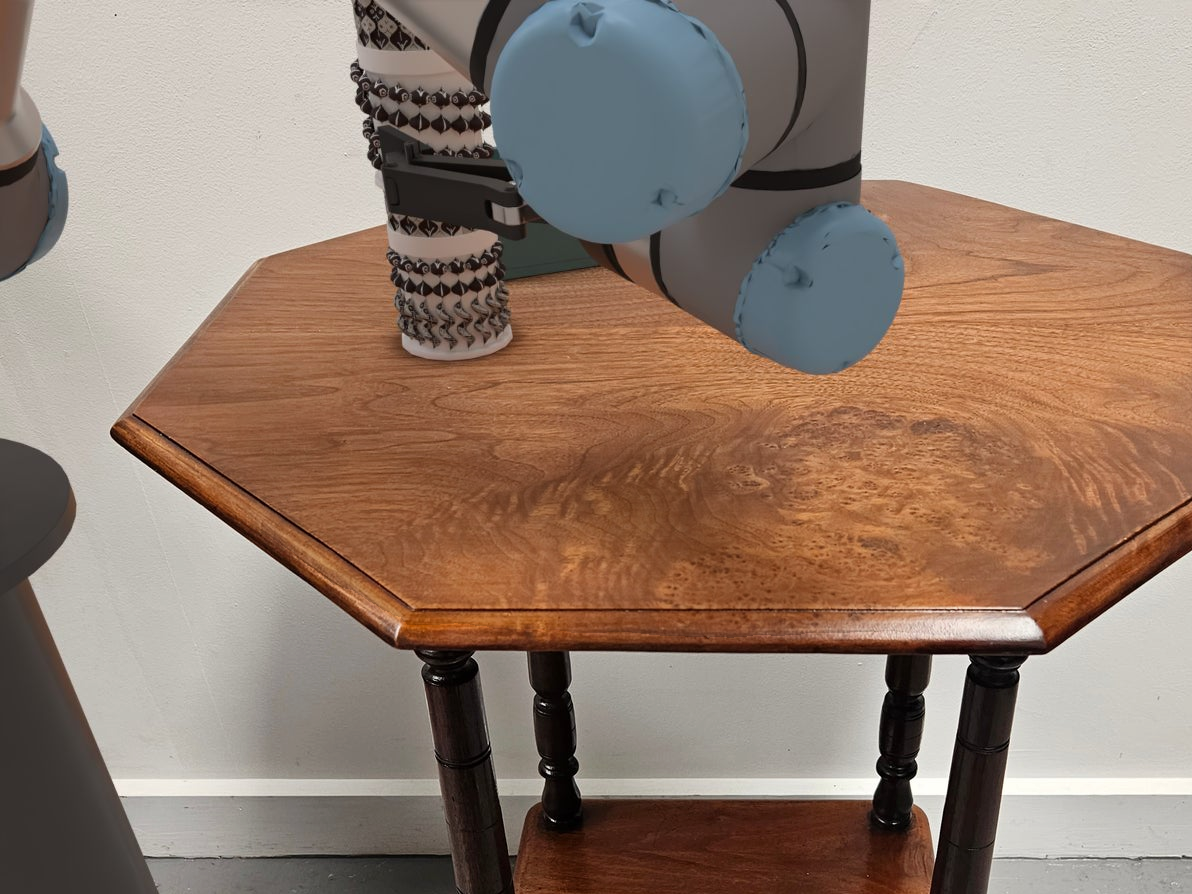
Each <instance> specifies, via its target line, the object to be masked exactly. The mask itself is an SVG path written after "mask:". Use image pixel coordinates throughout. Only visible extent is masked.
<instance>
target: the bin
mask: <svg viewBox="0 0 1192 894" xmlns="http://www.w3.org/2000/svg"><path fill="white" fill-rule="evenodd" d="M492 147H493V148H494V156H493V157H492V158H490V159H493V160H503V159H501V158H500V154H499V152H498V149H497V146H496V145H495V146H492ZM526 232H527V237H526V238H524V239H520V240H518V241H513V240H509V239H506V238H503V237H501V236H499V235H497V236H498V239H499V241H500V242H501V243H502V244H503V246H504V249H503V254H502V256H501V257H500V258H499V259H500V260H501V262H502V263H503V264H504V265H505V266H506V271H505V276H504V278H502V279H501V281H506V280H507V281H508V280H514V279H519V278H526V277H532V276H539V275H545V274H552V273H559V272H565V271H571V270H577V269H584V268H590V267H599V266H601V265H600V264H598V263H597V262H596V261H595V260H593V259H592V258H591V257H590V255H589V254H588V253H587V252H586V251H585V249H584V248H583V246H582V245H581V243H580V242H579V240H578V239H577V237H574V236H571V235H569V234H567V233H564V232H562V231H560V230H559V229H557V228H556V227H554V226H552V225H551V224H541V223H529V222H526Z"/></svg>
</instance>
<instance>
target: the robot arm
mask: <svg viewBox="0 0 1192 894" xmlns="http://www.w3.org/2000/svg"><path fill="white" fill-rule="evenodd" d="M375 1H376V2H377V3H378V4H379V5H380V6H382V7H383V8H384V9H385V10H386V11H387V12H389V13H390V14H391V15H392V16H393V17H394V18H396V19H397V20H398V21H399V22H400V23H402V24H403V25H404V26H405V27H406V28H407V29H409V30H410V31H411V32H412V33H413V34H414V35H416V36H417V37H418V38H419V39H420V40H421V41H423V42H424V43H425V44H426V45H427V46H428V47H430V48H431V49H432V50H433V51H434V52H435V53H437V54H438V55H439V56H440V57H441V58H442V59H444V60H445V61H446V62H447V63H448V64H449V65H451V66H452V67H453V68H454V69H455V70H456V71H458V72H459V73H460V74H461V75H462V76H463V77H465V78H466V79H467V80H468V81H469V82H471V83H472V84H473V85H474V86H475V87H476V88H477V89H478V90H479V91H480V92H482V93H483V94H484V95H485V96H486V97H487V98H488V99H490V101H489V115H490V116H491V122H492V124H491V128H492V137H493V138H492V139H493V141H494V143H495V147H496V146H497V149H498V152H499V154H500V158H501V159H503V160H493V159H479V158H465V157H450V156H436V155H434V151H433V148H432V147H430V146H428V145H426V144H424V143H423V142H421V141H420V140H417V139H415V138H413V137H411V136H409V135H407V134H405V133H404V132H402V131H400V130H398V129H396V128H394V127H392V126H390V125H384V126H378V127H377V129H378V135H379V141H380V147H381V153H382V159H383V164H382V165H381V172H382V178H383V183H384V189H385V195H386V201H387V207H388V212H390V213H393V214H399V215H404V216H410V217H415V218H420V219H426V220H431V221H436V222H442V223H447V224H452V225H458V226H463V227H469V228H474V229H479V230H485V231H490V232H492V233H494V234H497V235H499V236H501V237H503V238H506V239H509V240H513V241H518V240H520V239H524V238H526V237H527V232H526V222H529V223H541V224H551V225H552V226H554V227H556V228H557V229H559V230H560V231H562V232H564V233H567V234H569V235H571V236H574V237H577V239H578V240H579V242H580V243H581V245H582V246H583V248H584V249H585V251H586V252H587V253H588V254H589V255H590V257H591V258H592V259H593V260H595V261H596V262H597V263H598V264H600V265H599V266H601V267H603V268H605V269H607V270H608V271H610V272H612V273H614V274H616V275H617V276H619V277H621V278H623V279H624V280H626V281H628V282H630V283H632V284H634V285H637V286H640V287H641V288H642V289H645V290H647V292H648V291H649V292H650V293H652V294H654V295H656V296H658V297H659V298H662V299H663V300H665V301H667V302H669V303H670V304H673V305H674V306H675V307H677V308H679V309H681V311H684V312H686V313H687V314H688V315H690V316H692V317H694V318H695V319H697V320H698V321H700V322H702V323H704V324H706V325H707V326H709V327H711V328H713V329H714V330H716V331H718V332H719V333H720V334H722V335H724V336H726V337H727V338H729V339H731V340H733V341H734V342H736V343H737V344H739V345H741V346H742V347H743V348H744V349H746V350H747V352H748V353H750V354H752V355H755V356H758V357H759V358H764V359H767V360H769V361H771V362H774V363H776V364H778V365H780V366H783V367H785V368H788V369H791V370H795V371H798V372H800V373H803V374H806V375H812V376H826V375H833V374H834V375H835V374H838V373H841V372H842V371H844V370H847V369H850V368H851V367H853V366H855V365H857V364H858V363H859V362H861V361H862V360H864V359H865V358H866V357H867V356H868V355H869V354H871V353H872V352H873V351H874V350H875V348H876V347H878V345H879V344H880V343H881V341H882V340H883V339H884V337H885V336H886V335H887V333H888V331H889V330H890V328H891V326H892V325H893V322H894V320H895V318H896V316H897V314H898V311H899V308H900V305H901V302H902V298H903V294H904V287H905V280H906V279H905V278H906V275H905V273H906V270H905V262H904V259H903V257H902V254H901V251H900V247H899V245H898V242H897V239H896V235H895V233H894V232H893V230H892V229H891V228H890V226H888V224H886V223H885V222H884V221H883V220H882V219H881V218H879V217H878V216H876V215H875V213H872V211H871V210H870V209H866V207H865V206H864V205H861V193H862V176H863V165H862V144H863V128H864V113H865V98H866V81H867V69H868V53H869V52H868V51H869V37H870V20H871V6H872V0H375ZM35 2H36V0H0V283H2V282H4V281H7V280H9V279H11V278H13V277H14V276H17V275H18V274H19V275H20V273H21V272H23V271H25V270H26V269H27V267H28V266H30V265H32V264H34V263H36V262H38V261H39V260H41V259H43V257H45V256H46V255H47V254H48V253H50V251H51V250H52V249H53V248H54V247H55V246H56V244H57V243H58V241H59V240H60V238H61V236H62V233H63V232H64V229H65V226H66V223H67V218H68V213H69V204H70V203H69V202H70V201H69V198H70V197H69V193H70V192H69V185H68V178H67V174H66V171H65V170H63V169H62V168H59V166H58V165H57V163H56V162H55V158H56V157H58V156H60V152H59V149H58V146H57V144H56V142H55V140H54V137H53V136H52V134H51V132H50V131H49V129H48V127H47V125H46V124H45V123H44V122H43V120H42V118H41V114H40V111H39V109H38V107H37V105H36V103H35V102H34V100H33V99H32V97H31V96H30V94H29V92H28V91H26V89H25V88H24V87H23V86H22V84H21V83H22V78H23V73H24V66H25V60H26V55H27V50H28V43H29V38H30V31H31V26H32V20H33V16H34V15H33V14H34V9H35V4H36V3H35Z"/></svg>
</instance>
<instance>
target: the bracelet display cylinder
mask: <svg viewBox="0 0 1192 894" xmlns="http://www.w3.org/2000/svg"><path fill="white" fill-rule="evenodd" d="M350 1H351V5H352V9H353V13H352V14H353V19H354V20H353V21H354V25H355V29H356V34H357V39H355V47H356V54H357V58H356V59H355V60H354V61H352V63H351V64H350V65H349V68H350V73H349V77H350V80H351V81H352V82H353V83H355V84H356V85H357V88H356V90H355V94H356V95H355V97H354V102H355V104H356V105H357V106H358V107H359V110H360V111H361V112H362V113H363V114H365V115H368V116H367V117H366V118H365V119H364V120H363V121H362V133H361V134H362V137H364V138H365V139H366V140H368V143H369V144H368V151H367V152H366V158H367V160H369V162H370V163H371V166H372V168H374V169H375V170H376V171H375V172H374V185H375V187H378V188H379V189H380V190H382V192H383V197H384V206H385V212H386V215H387V220H386V221H385V222H386V233H387V238H388V246H387V247H388V248H387V252H386V254H385V257H386V260H388V262H389V264H390V265H391V266H392V269H391V273H390V274H389V279H390V281H391V282H392V285H393V286H394V287H396V288H398V289H397V290H396V291H395V294H394V296H393V301H392V302H393V306H394V308H395V309H396V310H397V311H398V313H399V314H398V316H397V319H396V323H397V327H398V328H399V330H400V331H401V332H402V333H401V344H402V345H401V346H402V348H403V349H404V350H406V351H407V352H408V353H409V354H410V355H414V356H416V357H420V358H423V359H426V360H434V361H435V360H437V361H448V362H449V361H461V360H471V359H476V358H480V357H484V356H488V355H491V354H494V353H496V352H498V351H499V350H502V349H503V348H505V347H507V346H508V344H509V343H510V342H511V341H512V340H513V339H514V337H513V330H512V326H511V324H510V323H511V318H510V316H511V315H512V310H511V309H510V308H509V307H508V305H507V304H509V297H508V296H509V295H510V290H509V289H508V288H507V287H506V285H505V282H504V280H501V279H502V278H504V276H505V271H506V266H505V265H504V264H503V263H502V262H501V260H500V259H499V258H500V257H501V256H502V254H503V249H504V246H503V244H502V243H501V242H500V241H499V239H498V236H497V234H494V233H492V232H490V231H485V230H479V229H474V228H469V227H463V226H458V225H452V224H447V223H442V222H436V221H431V220H426V219H420V218H415V217H410V216H404V215H399V214H393V213H390V212H388V207H387V201H386V195H385V189H384V183H383V178H382V172H381V165H382V164H383V159H382V153H381V147H380V141H379V135H378V129H377V127H378V126H384V125H390V126H392V127H394V128H396V129H398V130H400V131H402V132H404V133H405V134H407V135H409V136H411V137H413V138H415V139H417V140H420V141H421V142H423V143H424V144H426V145H428V146H430V147H432V148H433V151H434V155H436V156H450V157H465V158H479V159H490V158H492V157H493V156H494V148H493V147H494V146H493V145H492V144H490V143H488V142H486V141H485V140H483V136H482V135H483V133H482V132H485V131H486V130H487V129H488V128H490V127H492V122H491V114H490V113H487V112H485V110H484V108H483V106H484V105H486V104H488V103H490V99H488V98H487V97H486V96H485V95H484V94H483V93H482V92H480V91H479V90H478V89H477V88H476V87H475V86H474V85H473V84H472V83H471V82H469V81H468V80H467V79H466V78H465V77H463V76H462V75H461V74H460V73H459V72H458V71H456V70H455V69H454V68H453V67H452V66H451V65H449V64H448V63H447V62H446V61H445V60H444V59H442V58H441V57H440V56H439V55H438V54H437V53H435V52H434V51H433V50H432V49H431V48H430V47H428V46H427V45H426V44H425V43H424V42H423V41H421V40H420V39H419V38H418V37H417V36H416V35H414V34H413V33H412V32H411V31H410V30H409V29H407V28H406V27H405V26H404V25H403V24H402V23H400V22H399V21H398V20H397V19H396V18H394V17H393V16H392V15H391V14H390V13H389V12H387V11H386V10H385V9H384V8H383V7H382V6H380V5H379V4H378V3H377V2H376V1H375V0H350ZM479 106H480V107H479ZM480 108H481V110H482V111H481V110H479V109H480Z"/></svg>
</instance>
